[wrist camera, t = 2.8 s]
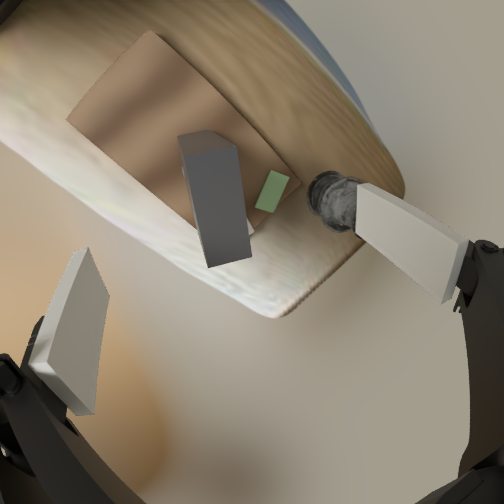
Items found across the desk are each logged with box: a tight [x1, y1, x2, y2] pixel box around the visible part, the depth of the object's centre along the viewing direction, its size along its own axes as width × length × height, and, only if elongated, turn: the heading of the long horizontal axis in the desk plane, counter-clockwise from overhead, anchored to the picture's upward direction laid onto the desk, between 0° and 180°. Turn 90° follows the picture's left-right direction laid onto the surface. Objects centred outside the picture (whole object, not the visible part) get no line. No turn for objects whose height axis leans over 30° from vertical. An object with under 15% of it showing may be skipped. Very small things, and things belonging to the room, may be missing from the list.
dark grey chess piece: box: [307, 171, 364, 239], centre depth 25 cm, size 6×6×12 cm
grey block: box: [177, 129, 252, 268], centre depth 20 cm, size 10×3×10 cm, turn 7°
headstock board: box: [66, 29, 301, 229], centre depth 23 cm, size 20×10×2 cm, turn 42°
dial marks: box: [247, 170, 289, 235], centre depth 27 cm, size 3×9×1 cm, turn 138°
